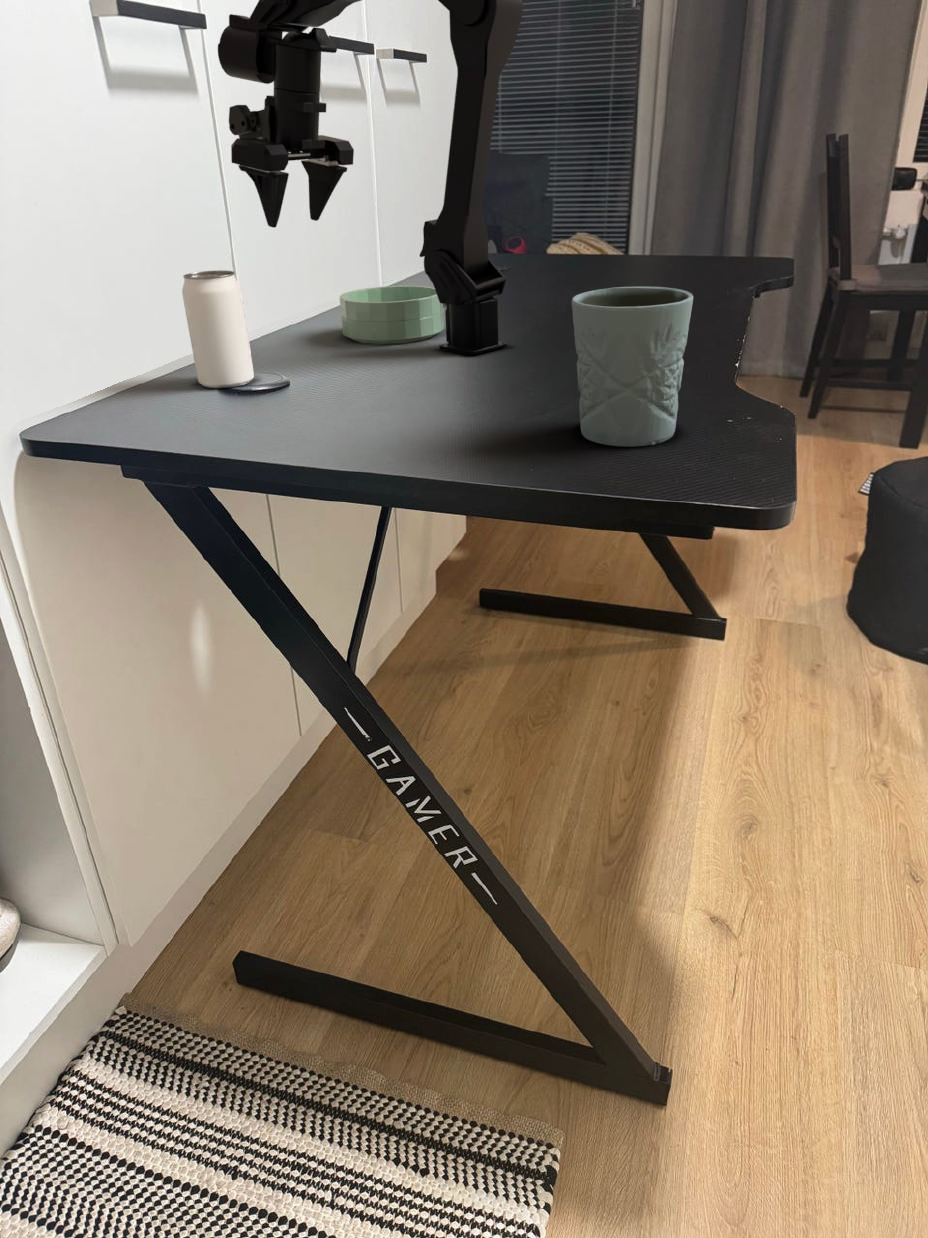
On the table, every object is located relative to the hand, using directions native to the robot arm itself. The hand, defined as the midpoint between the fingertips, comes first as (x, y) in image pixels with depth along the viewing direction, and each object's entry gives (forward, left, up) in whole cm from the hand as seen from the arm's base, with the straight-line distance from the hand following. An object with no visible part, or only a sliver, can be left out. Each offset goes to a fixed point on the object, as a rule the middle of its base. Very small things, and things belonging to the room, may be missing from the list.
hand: (293, 223), depth 119 cm
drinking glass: (-63, +9, -15) cm, 65 cm away
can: (-15, +22, -15) cm, 30 cm away
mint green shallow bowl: (-10, -8, -15) cm, 19 cm away
